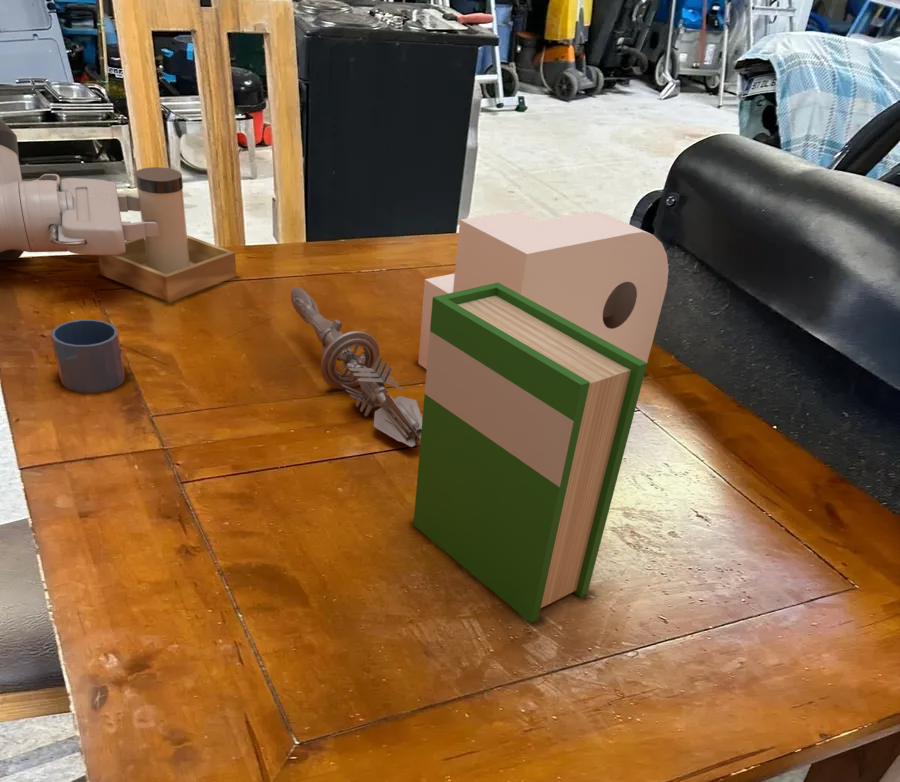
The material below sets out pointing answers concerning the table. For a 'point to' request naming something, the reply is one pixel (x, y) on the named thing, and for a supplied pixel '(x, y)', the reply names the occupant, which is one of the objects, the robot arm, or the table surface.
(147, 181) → the jar
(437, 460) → the hardback book
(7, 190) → the robot arm
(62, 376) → the cup
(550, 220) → the stepped bracket block
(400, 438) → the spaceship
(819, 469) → the table surface
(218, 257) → the tray
